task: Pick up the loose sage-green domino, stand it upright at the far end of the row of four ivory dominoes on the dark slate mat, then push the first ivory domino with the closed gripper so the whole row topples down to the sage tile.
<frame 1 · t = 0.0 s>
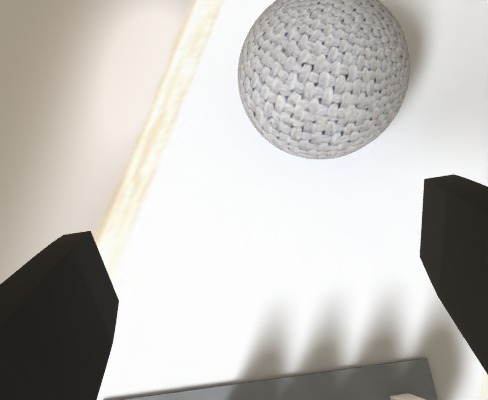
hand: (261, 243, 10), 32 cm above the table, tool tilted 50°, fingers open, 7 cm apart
decorative ball: (315, 118, 47), on the table
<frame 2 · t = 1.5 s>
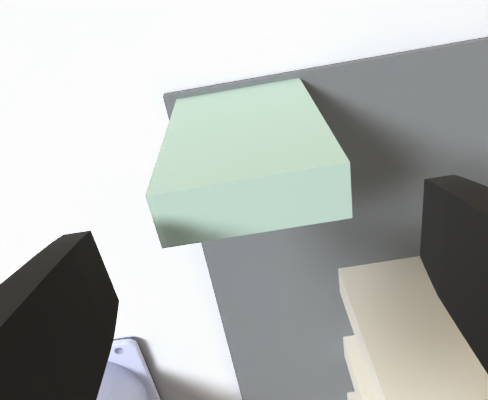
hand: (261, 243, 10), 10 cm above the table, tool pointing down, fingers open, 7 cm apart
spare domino: (240, 107, 18), resting on slate mat
slate mat: (349, 321, 25), on the table
domino 4: (387, 273, 23), resting on slate mat
domino 3: (387, 340, 25), resting on slate mat
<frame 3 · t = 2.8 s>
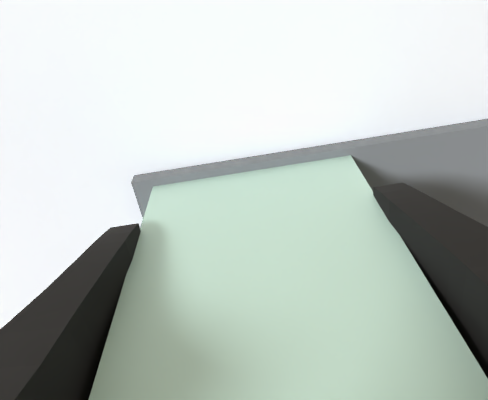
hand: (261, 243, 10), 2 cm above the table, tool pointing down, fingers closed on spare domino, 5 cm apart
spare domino: (255, 198, 11), resting on slate mat, touching gripper
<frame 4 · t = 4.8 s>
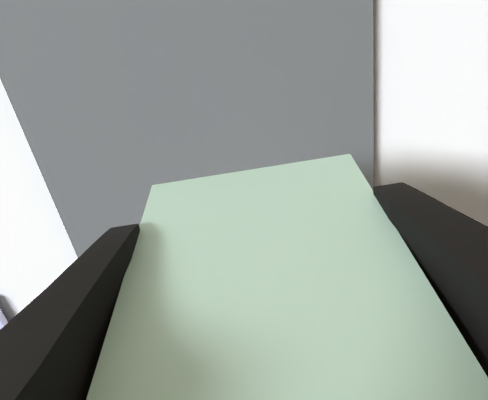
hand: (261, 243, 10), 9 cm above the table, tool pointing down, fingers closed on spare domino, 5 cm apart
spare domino: (254, 197, 11), point 7 cm above the table, touching gripper
slate mat: (233, 277, 22), on the table
when the fingers open (4 cm above the table, at t = 6.7 s): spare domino drops 1 cm, resting on slate mat.
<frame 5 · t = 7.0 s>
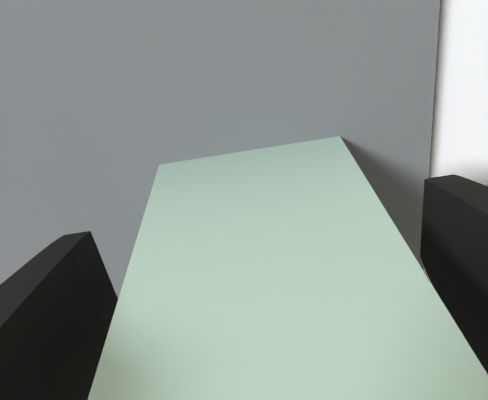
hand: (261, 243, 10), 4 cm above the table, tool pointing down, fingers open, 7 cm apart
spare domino: (252, 176, 12), resting on slate mat
slate mat: (233, 372, 17), on the table
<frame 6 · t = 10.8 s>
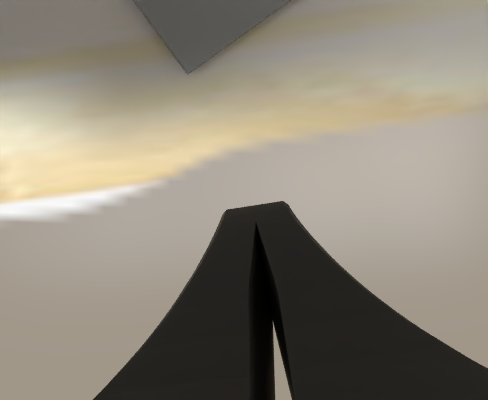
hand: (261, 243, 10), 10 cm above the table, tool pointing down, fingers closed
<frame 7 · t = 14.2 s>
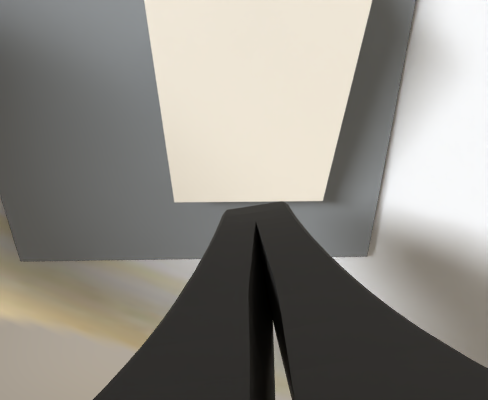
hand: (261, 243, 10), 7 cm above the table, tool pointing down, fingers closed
domino 1: (248, 184, 15), point 1 cm above the table, tilted 71°, touching slate mat
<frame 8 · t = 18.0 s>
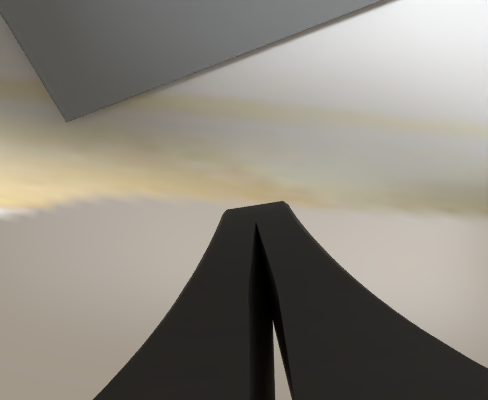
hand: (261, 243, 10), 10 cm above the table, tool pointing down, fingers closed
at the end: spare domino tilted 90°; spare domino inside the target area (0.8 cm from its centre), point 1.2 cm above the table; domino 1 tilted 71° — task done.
